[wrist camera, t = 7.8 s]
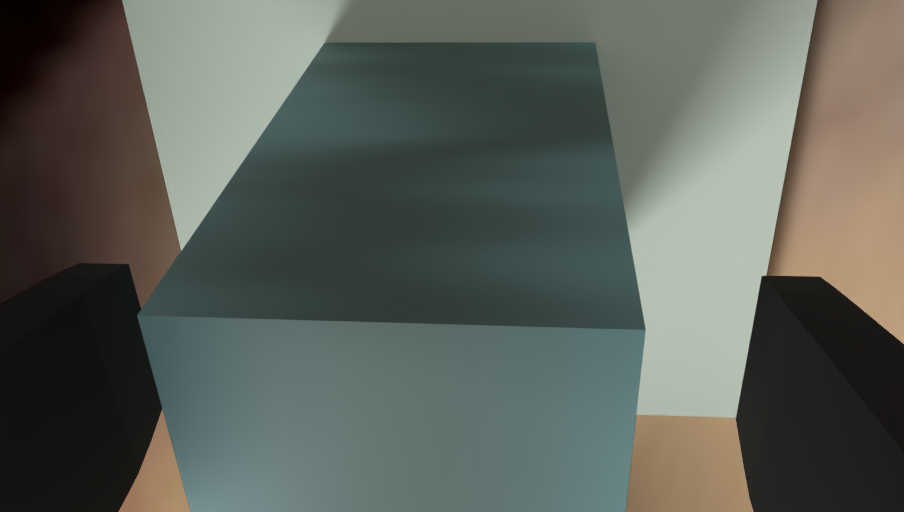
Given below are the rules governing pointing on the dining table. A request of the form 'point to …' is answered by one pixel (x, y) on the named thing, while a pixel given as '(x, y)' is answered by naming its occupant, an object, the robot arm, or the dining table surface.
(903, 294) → the dining table surface
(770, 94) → the mat
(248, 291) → the block
